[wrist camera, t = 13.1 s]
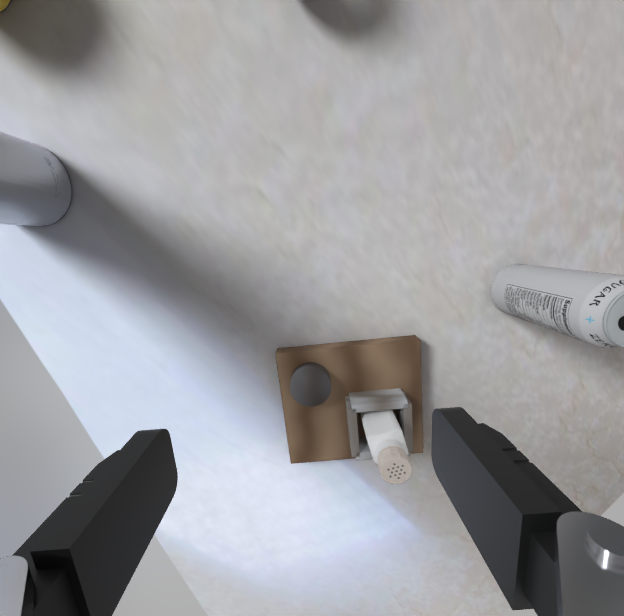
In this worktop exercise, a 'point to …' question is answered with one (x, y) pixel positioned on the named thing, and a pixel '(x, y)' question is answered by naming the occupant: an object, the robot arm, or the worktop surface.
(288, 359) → the carrier board
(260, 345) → the worktop surface
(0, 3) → the plant pot
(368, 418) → the salt shaker
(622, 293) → the energy drink can
